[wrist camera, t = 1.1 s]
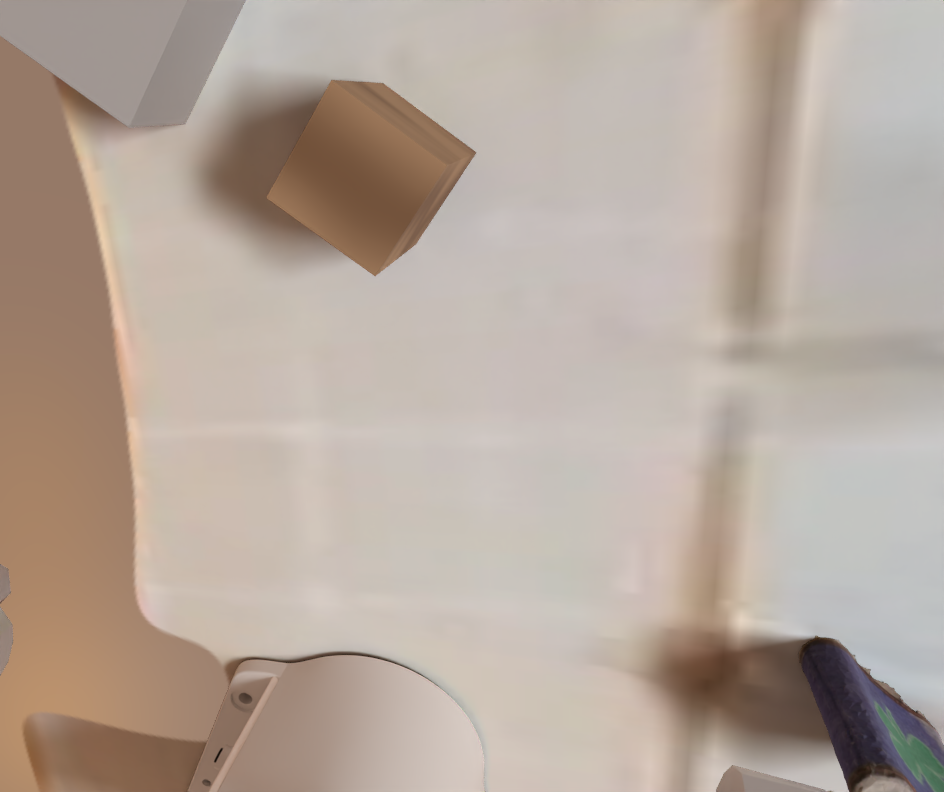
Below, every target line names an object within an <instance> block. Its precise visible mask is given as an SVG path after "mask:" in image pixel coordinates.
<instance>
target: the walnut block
mask: <svg viewBox="0 0 944 792" xmlns="http://www.w3.org/2000/svg"><path fill="white" fill-rule="evenodd" d="M475 154H476V152H475V151H474V150H472V149H471V148H470V147H468V146H467V145H465V144H464V143H463V142H461V141H460V140H459V139H457V138H456V137H455V136H453V135H452V134H451V133H449V132H448V131H447V130H445V129H444V128H443V127H441V126H440V125H439V124H437V123H436V122H435V121H433V120H432V119H430V118H429V117H428V116H426V115H425V114H424V113H422V112H421V111H420V110H418V109H417V108H416V107H414V106H413V105H412V104H410V103H409V102H408V101H406V100H405V99H404V98H402V97H401V96H400V95H398V94H397V93H395V92H394V91H393V90H391V89H390V88H389V87H387V86H386V85H385V84H383V83H370V82H354V81H338V80H331V82H330V84H329V86H328V87H327V89H326V91H325V93H324V95H323V96H322V98H321V100H320V102H319V104H318V105H317V107H316V109H315V111H314V113H313V114H312V116H311V118H310V120H309V122H308V123H307V125H306V127H305V129H304V131H303V132H302V134H301V136H300V138H299V140H298V141H297V143H296V145H295V147H294V149H293V150H292V152H291V154H290V156H289V158H288V159H287V161H286V163H285V165H284V167H283V168H282V170H281V172H280V174H279V176H278V177H277V179H276V181H275V183H274V185H273V186H272V188H271V190H270V192H269V194H268V195H267V197H266V198H267V199H268V200H270V201H271V202H272V203H274V204H275V205H277V206H278V207H279V208H281V209H282V210H283V211H285V212H286V213H288V214H289V215H290V216H292V217H293V218H295V219H296V220H297V221H299V222H300V223H302V224H303V225H304V226H306V227H307V228H309V229H310V230H311V231H313V232H314V233H316V234H317V235H318V236H320V237H321V238H323V239H324V240H325V241H327V242H328V243H330V244H331V245H332V246H334V247H335V248H336V249H338V250H339V251H341V252H342V253H343V254H345V255H346V256H348V257H349V258H350V259H352V260H353V261H355V262H356V263H357V264H359V265H360V266H362V267H363V268H364V269H366V270H367V271H369V272H370V273H371V274H373V275H374V276H376V275H377V274H379V273H380V272H381V271H382V270H384V269H385V268H386V267H388V266H389V265H390V264H391V263H393V262H394V261H395V260H396V259H398V258H399V257H400V256H402V255H403V254H404V253H405V252H407V251H408V250H409V249H410V248H412V247H413V246H414V245H416V243H417V242H418V240H419V239H420V237H421V236H422V234H423V233H424V231H425V230H426V228H427V227H428V225H429V224H430V222H431V220H432V219H433V217H434V216H435V214H436V213H437V211H438V210H439V208H440V207H441V205H442V204H443V202H444V201H445V199H446V198H447V196H448V195H449V193H450V192H451V190H452V189H453V187H454V186H455V184H456V183H457V181H458V180H459V178H460V177H461V175H462V174H463V172H464V171H465V169H466V168H467V166H468V164H469V163H470V161H471V160H472V158H473V157H474V155H475Z"/></svg>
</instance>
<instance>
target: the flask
mask: <svg viewBox="0 0 944 792" xmlns="http://www.w3.org/2000/svg"><path fill="white" fill-rule="evenodd" d="M798 655H799V662H800V663H801V666H802V669H803V672H804V673H805V675H806V677H807V679H808V682H809V684H810V687H811V690H812V692H813V694H814V697H815V700H816V703H817V705H818V708H819V710H820V712H821V715H822V718H823V720H824V723H825V725H826V727H827V730H828V733H829V736H830V739H831V741H832V744H833V747H834V750H835V754H836V756H837V759H838V761H839V764H840V766H841V769H842V771H843V774H844V778H845V780H846V783H847V786H848V790H849V792H944V745H943V743H942V739H941V737H940V735H939V733H938V732H937V731H936V729H935V728H934V727H933V726H932V725H931V724H930V722H929V721H928V720H927V719H926V718H925V716H924V714H922V713H921V712H920V711H917V712H918V713H916V712H915V711H914V710H912V709H911V708H910V707H909V706H908V705H907V704H906V703H904V702H903V700H901V699H900V697H901V696H900V695H899V694H897V693H896V692H895V691H894V688H891V687H889V685H888V684H886V683H883V682H882V683H881V682H880V681H877V680H874V679H873V678H872V676H871V675H870V670H871V669H866V668H864V667H861V666H860V665H859V664H858V663H857V661H856V659H855V655H854V656H853V655H852V654H851V653H850V652H849V651H848V649H847V648H845V647H844V646H843V645H842V644H841V643H840V642H839V641H838V640H834V639H830V638H828V639H827V638H820V637H818V636H815V638H814V639H813V640H811V641H810V642H808V643H806V644H804V645H803V646H802V648H801V650H800V651H799V652H798Z"/></svg>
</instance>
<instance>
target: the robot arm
mask: <svg viewBox="0 0 944 792" xmlns="http://www.w3.org/2000/svg"><path fill="white" fill-rule="evenodd" d="M10 593H11V591H10V581H9V572H8V569H7V568H6V567H4V566H2V565H1V564H0V603H1V602H2V601H3V600H4V599H5V598H6V597H7V596H8V595H9V594H10ZM12 644H13V629H12V623H11V622H10V620H9V619H8V617H7V616H6V615H5V613H4V612H3V610H2V609H1V607H0V675H1V673H2V672H3V670H4V668H5V666H6V665H7V663H8V660H9V656H10V652H11V647H12ZM246 693H247V694H246ZM248 694H249V695H248ZM484 770H485V764H484V754H483V750H482V746H481V742H480V739H479V737H478V735H477V732H476V730H475V728H474V726H473V725H472V723H471V721H470V720H469V718H468V717H467V715H466V714H465V713H464V711H463V710H462V709H461V708H460V706H459V705H458V704H457V703H456V702H455V701H454V700H453V699H452V698H451V697H450V696H449V695H448V694H447V693H445V692H444V691H443V690H442V689H440V688H439V687H438V686H437V685H435V684H434V683H432V682H431V681H429V680H428V679H426V678H424V677H423V676H421V675H419V674H417V673H415V672H413V671H411V670H409V669H407V668H404V667H402V666H400V665H397V664H394V663H391V662H388V661H384V660H380V659H376V658H371V657H364V656H355V655H336V656H326V657H320V658H316V659H312V660H307V661H303V662H297V663H282V662H275V661H268V660H247V661H244V662H242V663H241V664H240V665H239V666H238V668H237V669H236V672H235V674H234V676H233V678H232V680H231V683H230V685H229V688H228V691H227V693H226V695H225V698H224V700H223V703H222V705H221V708H220V710H219V713H218V715H217V718H216V720H215V723H214V725H213V728H212V730H211V733H210V736H209V738H208V741H207V743H206V746H205V748H204V751H203V753H202V756H201V758H200V761H199V763H198V766H197V768H196V771H195V773H194V776H193V778H192V781H191V783H190V786H189V788H188V791H187V792H485V789H484ZM716 792H827V791H825V790H823V789H820V788H816V787H813V786H809V785H805V784H801V783H798V782H794V781H790V780H786V779H783V778H779V777H775V776H771V775H768V774H764V773H760V772H756V771H753V770H749V769H745V768H741V767H738V766H734V765H732V766H731V767H730V768H729V769H728V770H727V771H726V772H725V773H724V774H723V777H722V779H721V781H720V783H719V785H718V787H717V789H716ZM828 792H833V791H828Z"/></svg>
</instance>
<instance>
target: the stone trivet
mask: <svg viewBox="0 0 944 792" xmlns="http://www.w3.org/2000/svg"><path fill="white" fill-rule="evenodd" d="M245 1H246V0H0V36H1V37H2V38H4V39H5V40H6V41H8V42H9V43H11V44H12V45H14V46H15V47H16V48H18V49H19V50H20V51H22V52H23V53H25V54H26V55H27V56H29V57H30V58H32V59H33V60H35V61H36V62H37V63H39V64H40V65H41V66H43V67H44V68H46V69H47V70H48V71H50V72H51V73H53V74H54V75H55V76H57V77H58V78H60V79H61V80H62V81H64V82H65V83H67V84H68V85H69V86H71V87H72V88H74V89H75V90H76V91H78V92H79V93H81V94H82V95H84V96H85V97H86V98H88V99H89V100H91V101H92V102H93V103H95V104H96V105H98V106H99V107H100V108H102V109H103V110H105V111H106V112H107V113H109V114H110V115H112V116H113V117H114V118H116V119H117V120H119V121H120V122H121V123H123V124H124V125H126V126H127V127H128V128H133V127H148V126H164V125H179V124H186V122H187V120H188V118H189V116H190V114H191V112H192V109H193V107H194V105H195V103H196V101H197V99H198V97H199V95H200V93H201V91H202V89H203V87H204V85H205V83H206V81H207V79H208V77H209V75H210V73H211V71H212V68H213V66H214V64H215V62H216V60H217V58H218V56H219V54H220V52H221V50H222V48H223V46H224V44H225V42H226V40H227V38H228V36H229V34H230V32H231V30H232V27H233V25H234V23H235V21H236V19H237V17H238V15H239V13H240V11H241V9H242V7H243V5H244V3H245Z"/></svg>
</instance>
